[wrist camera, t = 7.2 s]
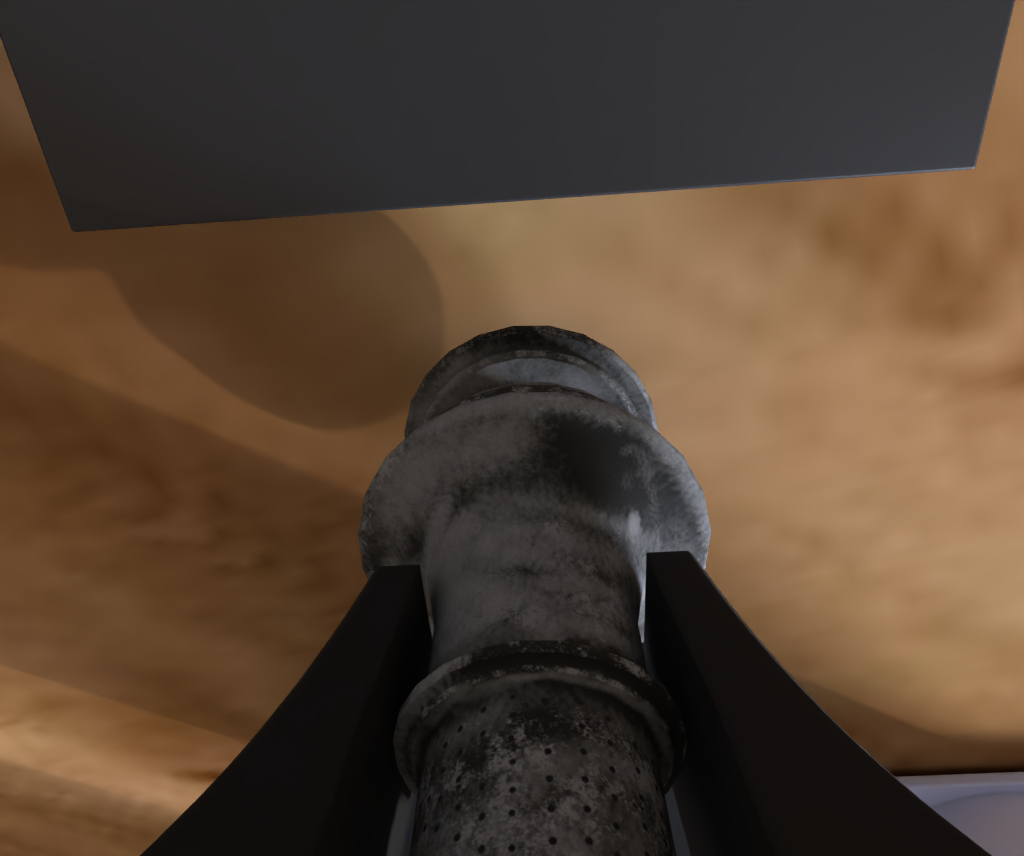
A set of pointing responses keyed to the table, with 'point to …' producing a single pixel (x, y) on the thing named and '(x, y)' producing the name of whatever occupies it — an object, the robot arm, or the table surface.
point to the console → (485, 99)
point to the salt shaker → (535, 598)
